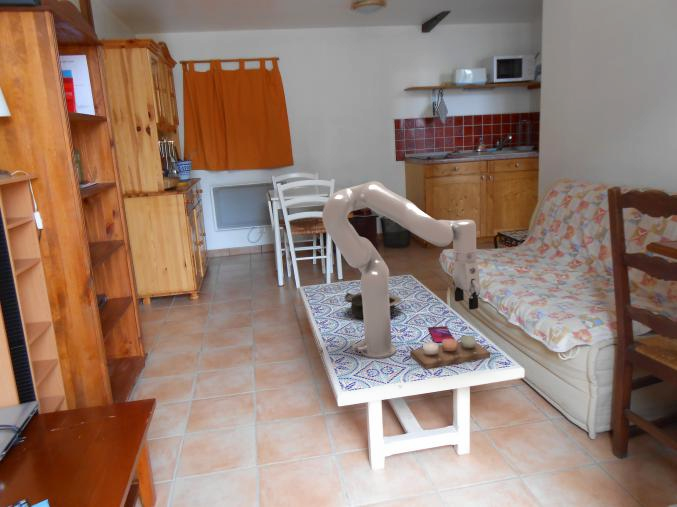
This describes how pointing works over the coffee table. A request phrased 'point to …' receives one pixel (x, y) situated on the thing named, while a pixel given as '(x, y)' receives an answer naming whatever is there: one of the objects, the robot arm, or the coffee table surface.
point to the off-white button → (430, 348)
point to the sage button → (467, 341)
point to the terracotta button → (449, 344)
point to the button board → (449, 356)
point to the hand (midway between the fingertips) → (466, 304)
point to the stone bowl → (358, 305)
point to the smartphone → (439, 333)
